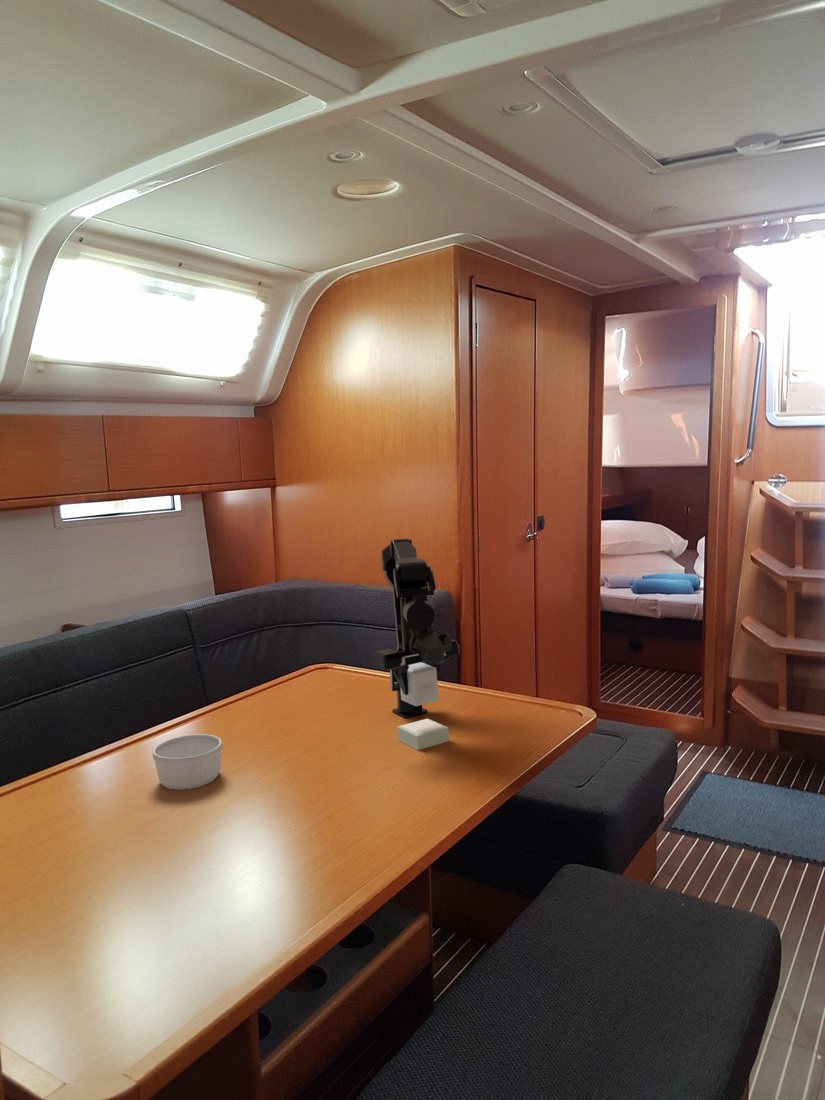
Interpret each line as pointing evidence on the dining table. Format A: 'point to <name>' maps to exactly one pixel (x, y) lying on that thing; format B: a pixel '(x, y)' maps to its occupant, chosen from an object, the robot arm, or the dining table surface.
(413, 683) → the skincare box
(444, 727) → the base block
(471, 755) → the dining table surface
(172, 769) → the ramekin
